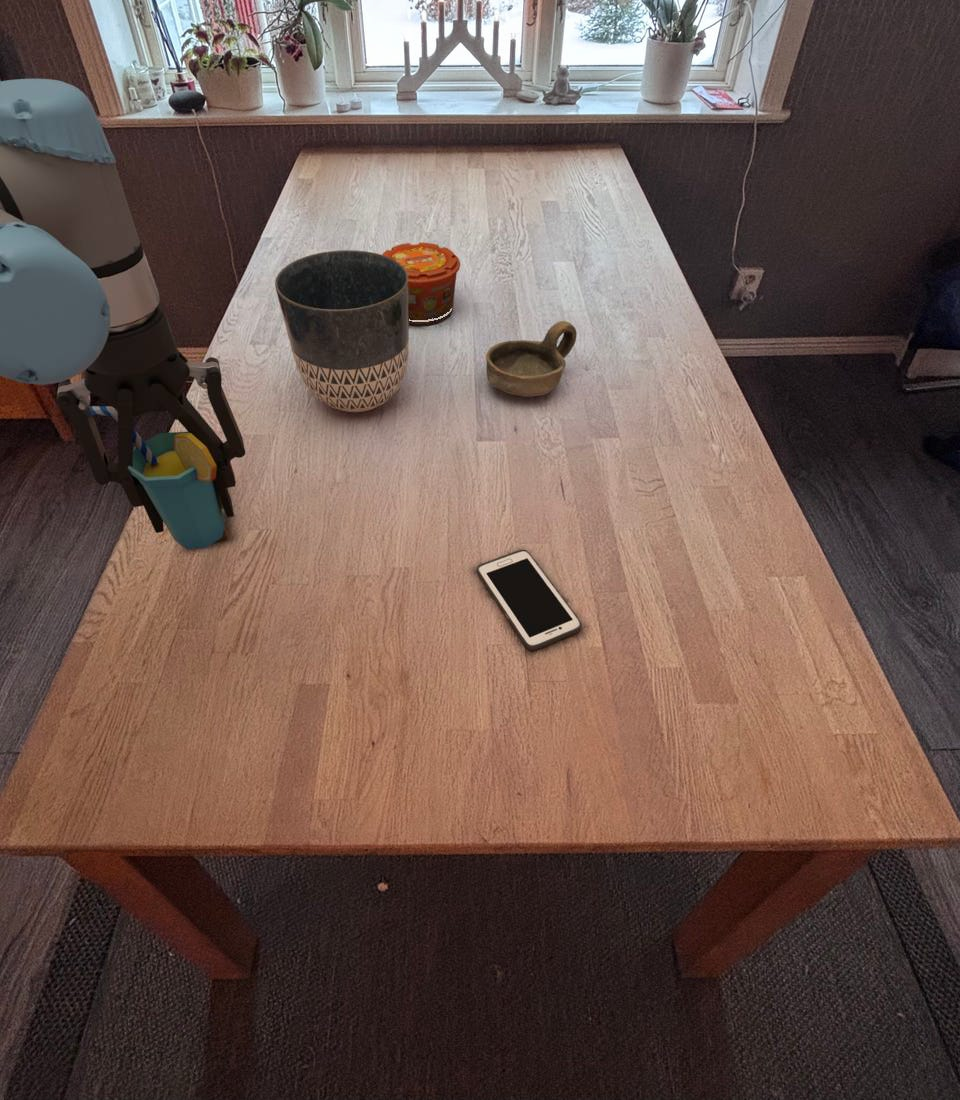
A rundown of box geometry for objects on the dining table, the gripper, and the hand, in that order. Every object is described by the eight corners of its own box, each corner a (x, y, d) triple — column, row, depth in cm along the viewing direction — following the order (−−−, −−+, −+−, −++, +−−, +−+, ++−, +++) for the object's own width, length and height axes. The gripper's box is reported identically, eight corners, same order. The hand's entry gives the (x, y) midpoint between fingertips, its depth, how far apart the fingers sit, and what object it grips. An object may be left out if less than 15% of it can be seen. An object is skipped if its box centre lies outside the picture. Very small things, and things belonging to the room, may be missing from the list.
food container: (412, 339, 130) (409, 285, 122) (366, 307, 138) (360, 254, 130) (476, 314, 137) (477, 261, 129) (428, 285, 145) (426, 233, 137)
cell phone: (525, 552, 92) (525, 547, 91) (583, 630, 83) (584, 626, 83) (474, 570, 90) (474, 565, 89) (529, 653, 81) (529, 649, 80)
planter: (403, 440, 109) (394, 315, 93) (285, 429, 110) (255, 304, 94) (424, 373, 122) (418, 254, 106) (318, 365, 123) (297, 245, 107)
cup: (113, 541, 72) (51, 425, 61) (157, 494, 77) (106, 379, 66) (232, 570, 69) (189, 454, 58) (268, 519, 74) (235, 404, 63)
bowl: (468, 380, 121) (469, 328, 113) (547, 353, 127) (552, 303, 120) (512, 419, 113) (515, 366, 106) (593, 388, 120) (602, 337, 112)
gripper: (231, 275, 60) (281, 475, 77) (-15, 307, 55) (97, 513, 72) (240, 315, 55) (292, 519, 72) (-27, 354, 50) (95, 562, 67)
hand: (194, 515), depth 72 cm, fingers closed on cup, 6 cm apart
